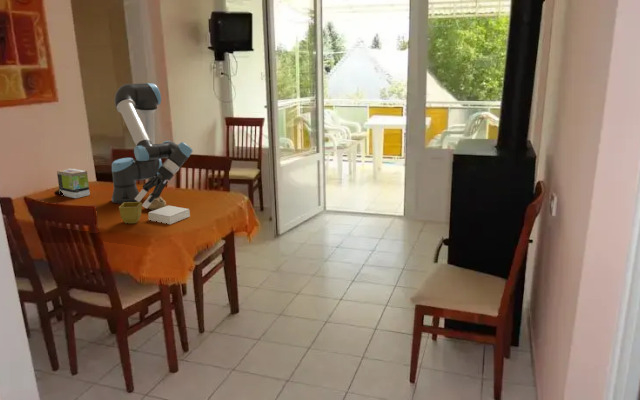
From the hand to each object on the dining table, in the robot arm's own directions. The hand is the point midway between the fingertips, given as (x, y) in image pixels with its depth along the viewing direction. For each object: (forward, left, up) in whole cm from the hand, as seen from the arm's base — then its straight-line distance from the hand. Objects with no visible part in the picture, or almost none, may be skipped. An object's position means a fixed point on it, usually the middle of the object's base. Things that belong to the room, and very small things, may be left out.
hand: (140, 203), depth 246 cm
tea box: (-71, +18, -9) cm, 74 cm away
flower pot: (-3, -3, -9) cm, 10 cm away
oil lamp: (-8, +19, -9) cm, 23 cm away
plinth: (+9, +10, -9) cm, 16 cm away
